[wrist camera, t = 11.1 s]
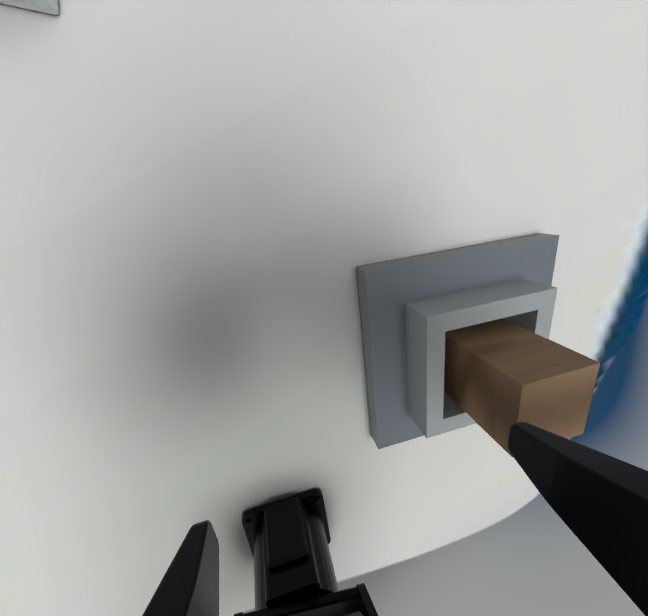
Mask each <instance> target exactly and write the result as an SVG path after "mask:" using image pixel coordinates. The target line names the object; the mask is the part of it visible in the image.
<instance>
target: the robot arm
mask: <svg viewBox="0 0 648 616" xmlns="http://www.w3.org/2000/svg"><path fill="white" fill-rule="evenodd" d="M507 445H508V449H509V451H510V453H511V454H512V456H513V457H514V458H515V460H516V461H517V462H518V464H519V465H520V466H521V468H522V469H523V471H524V472H525V473H526V475H527V476H528V477H529V479H530V480H531V481H532V483H533V484H534V485H535V487H536V488H537V489H538V491H539V492H540V494H541V495H542V496H543V497H544V499H545V500H546V501H547V503H548V504H549V505H550V506H551V507H552V508H553V510H554V511H555V512H556V513H557V514H558V515H559V517H560V518H561V519H562V520H563V521H564V522H565V524H566V525H567V526H568V527H569V528H570V529H571V530H572V532H573V533H574V534H575V535H576V536H577V537H578V538H579V540H580V541H581V542H582V543H583V544H584V545H585V547H587V549H588V550H589V551H590V552H591V553H592V555H593V556H594V557H595V558H596V559H597V560H598V562H599V563H600V564H601V565H602V566H603V567H604V568H605V570H606V571H607V572H608V573H609V574H610V575H611V577H612V578H613V579H614V580H615V581H616V582H617V583H618V585H619V586H620V587H621V588H622V589H623V590H624V592H625V593H626V594H627V595H628V596H629V597H630V598H631V600H632V601H633V602H634V603H635V604H636V605H637V607H638V608H639V609H640V610H641V611H642V612H643V613H644V615H645V616H648V471H646V470H644V469H641V468H638V467H636V466H634V465H631V464H629V463H626V462H624V461H621V460H619V459H616V458H614V457H611V456H609V455H606V454H604V453H601V452H599V451H596V450H594V449H591V448H589V447H586V446H584V445H581V444H579V443H576V442H574V441H571V440H569V439H567V438H564V437H562V436H559V435H557V434H554V433H552V432H549V431H547V430H544V429H542V428H539V427H537V426H534V425H532V424H529V423H527V422H518V423H515V424H512V425H511V426H510V428H509V435H508V443H507ZM242 524H243V527H244V530H245V533H246V536H247V539H248V542H249V545H250V548H251V551H252V554H253V556H254V577H255V611H254V612H249V613H245V614H243V612H241V613H237V614H234V616H378V614H377V612H376V610H375V607H374V605H373V603H372V600H371V598H370V596H369V594H368V592H367V589H366V587H365V585H364V583H362V584H357V585H356V587H353V588H348V589H344V590H340V591H339V590H338V586H337V581H336V577H335V573H334V568H333V564H332V560H331V556H330V551H329V547H328V544H329V543H330V540H331V539H330V534H329V528H328V523H327V517H326V512H325V506H324V500H323V495H322V492H321V490H319V489H315V490H312V491H309V492H306V493H303V494H299V495H296V496H293V497H290V498H287V499H284V500H280V501H277V502H274V503H271V504H268V505H265V506H261V507H258V508H255V509H252V510H249V511H246V512H244V513H243V515H242ZM142 616H219V544H218V539H217V537H216V534H215V532H214V529H213V527H212V524H211V522H210V521H209V520H206V521H203V522H200V523H197V524H194V525H193V526H192V527H191V528H190V530H189V532H188V533H187V535H186V537H185V539H184V541H183V543H182V544H181V546H180V548H179V550H178V552H177V554H176V555H175V557H174V559H173V561H172V563H171V564H170V566H169V568H168V570H167V572H166V574H165V575H164V577H163V579H162V581H161V583H160V584H159V586H158V588H157V590H156V592H155V594H154V595H153V597H152V599H151V601H150V603H149V605H148V606H147V608H146V610H145V612H144V614H143V615H142Z"/></svg>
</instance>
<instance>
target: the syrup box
mask: <svg viewBox="0 0 648 616" xmlns="http://www.w3.org/2000/svg"><path fill="white" fill-rule="evenodd" d="M0 4H5V5H10V6H15V7H20V8H25V9H29V10H33V11H38V12H44V13H49V14H53V15H59V6H58V0H0Z"/></svg>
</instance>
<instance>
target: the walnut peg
mask: <svg viewBox="0 0 648 616" xmlns="http://www.w3.org/2000/svg"><path fill="white" fill-rule="evenodd" d="M599 365H600V363H599V362H597V361H595V360H593V359H590V358H588V357H586V356H584V355H582V354H579V353H577V352H575V351H573V350H571V349H568V348H566V347H564V346H562V345H560V344H557V343H555V342H553V341H551V340H549V339H546V338H544V337H542V336H540V335H538V334H536V333H533V332H531V331H529V330H527V329H525V328H522V327H520V326H518V325H516V324H514V323H511V322H509V321H507V320H505V319H503V318H501V319H497V320H492V321H488V322H484V323H480V324H476V325H471V326H467V327H463V328H459V329H455V330H450V331H446V332H445V367H444V392H445V393H446V394H447V395H448V396H449V397H450V398H451V399H452V400H454V401H455V402H456V403H457V404H458V405H459V406H460V407H461V408H462V409H463V410H464V411H465V412H466V413H467V414H468V415H469V416H470V417H471V418H472V419H473V420H474V421H475V422H476V423H477V424H478V425H479V426H481V427H482V428H483V429H484V430H485V431H486V432H487V433H488V434H489V435H490V436H491V437H492V438H493V439H494V440H495V441H496V442H497V443H498V444H499V445H500V446H501V447H502V448H503V449H504V450H505V451H506V452H507V453H509V454H510V455H511V456H512V454H511V453H510V451H509V449H508V445H507V443H508V435H509V428H510V426H511V425H512V424H515V423H518V422H527V423H529V424H532V425H534V426H537V427H539V428H542V429H544V430H547V431H549V432H552V433H554V434H557V435H559V436H562V437H564V438H567V439H568V438H571V437H574V436H577V435H580V434H583V431H584V426H585V423H586V418H587V415H588V410H589V406H590V402H591V398H592V394H593V390H594V386H595V382H596V378H597V373H598V369H599ZM512 457H513V456H512Z"/></svg>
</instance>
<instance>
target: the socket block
mask: <svg viewBox="0 0 648 616" xmlns="http://www.w3.org/2000/svg"><path fill="white" fill-rule="evenodd" d="M558 240H559V235H551V234H542V233H538V234H532V235H527V236H522V237H516V238H511V239H505V240H500V241H494V242H489V243H483V244H478V245H472V246H467V247H461V248H456V249H451V250H445V251H440V252H434V253H429V254H423V255H418V256H412V257H407V258H401V259H396V260H391V261H385V262H380V263H374V264H369V265H363V266H358V267H357V277H358V289H359V300H360V312H361V324H362V335H363V347H364V359H365V370H366V382H367V394H368V405H369V417H370V429H371V436H372V438H373V440H374V442H375V443H376V445H377V447H378V449H381V448H384V447H387V446H390V445H394V444H397V443H400V442H404V441H407V440H410V439H414V438H417V437H420V436H424V435H425V437H426V438H429V437H432V436H435V435H439V434H442V433H445V432H449V431H452V430H455V429H458V428H462V427H465V426H468V425H472V424H475V423H476V422H475V421H474V420H473V419H472V418H471V417H470V416H469V415H468V414H467V413H466V412H465V411H464V410H463V409H462V408H461V407H460V406H459V405H458V404H457V403H456V402H455V401H454V400H452V399H451V398H450V397H449V396H448V395H447V394H446V393H445V392H444V367H445V332H446V331H450V330H455V329H459V328H463V327H467V326H471V325H476V324H480V323H484V322H488V321H492V320H497V319H501V318H503V319H505V320H507V321H509V322H511V323H514V324H516V325H518V326H520V327H522V328H525V329H527V330H529V331H531V332H533V333H536V334H538V335H540V336H542V337H544V338H546V339H549V334H550V328H551V322H552V316H553V310H554V304H555V299H556V293H557V288H556V287H553V286H551V283H552V277H553V271H554V265H555V258H556V252H557V246H558Z"/></svg>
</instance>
